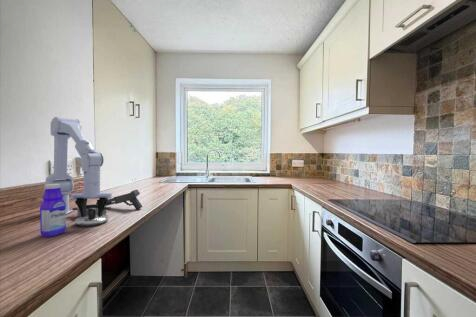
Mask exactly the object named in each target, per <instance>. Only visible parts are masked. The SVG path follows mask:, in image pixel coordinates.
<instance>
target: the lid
mask: <svg viewBox="0 0 476 317" xmlns="http://www.w3.org/2000/svg"><path fill="white" fill-rule="evenodd" d="M108 220H109V216H108V215H107V214H106V215H102V216H101V217H98V215H96V208H89V209H88V216H85V217H80V218H78V217H77V218H75V219H74V225H77V226H78V225H79V226H83V227H92V226H98V225H101V224H104V223H105V222H108Z"/></svg>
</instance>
